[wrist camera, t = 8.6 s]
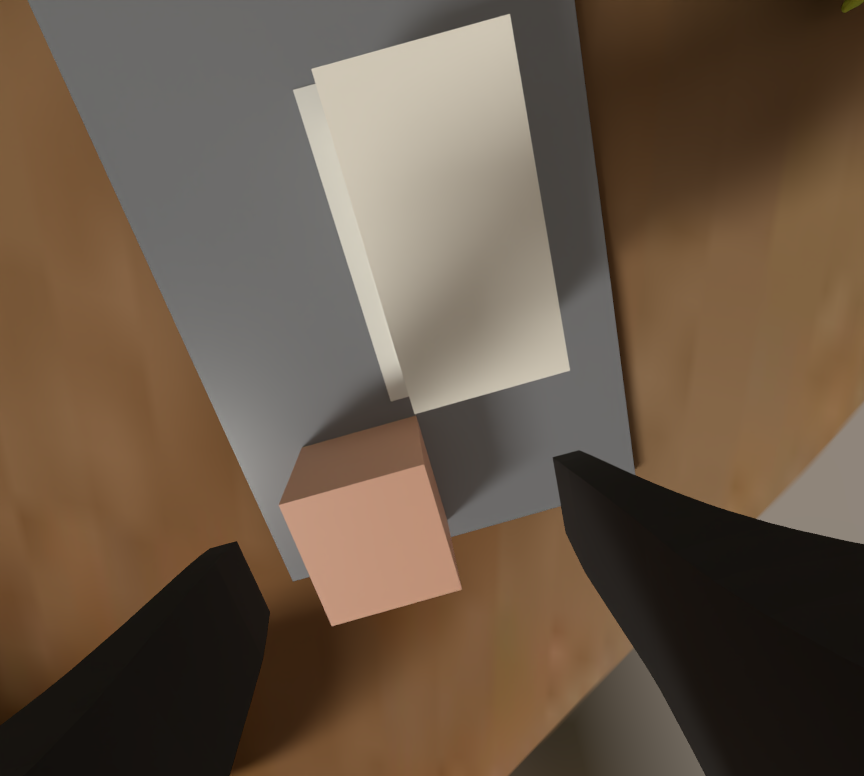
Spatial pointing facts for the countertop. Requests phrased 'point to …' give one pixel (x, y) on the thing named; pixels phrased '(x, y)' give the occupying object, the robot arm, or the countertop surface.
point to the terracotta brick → (370, 521)
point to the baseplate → (332, 234)
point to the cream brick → (449, 209)
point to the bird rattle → (850, 5)
